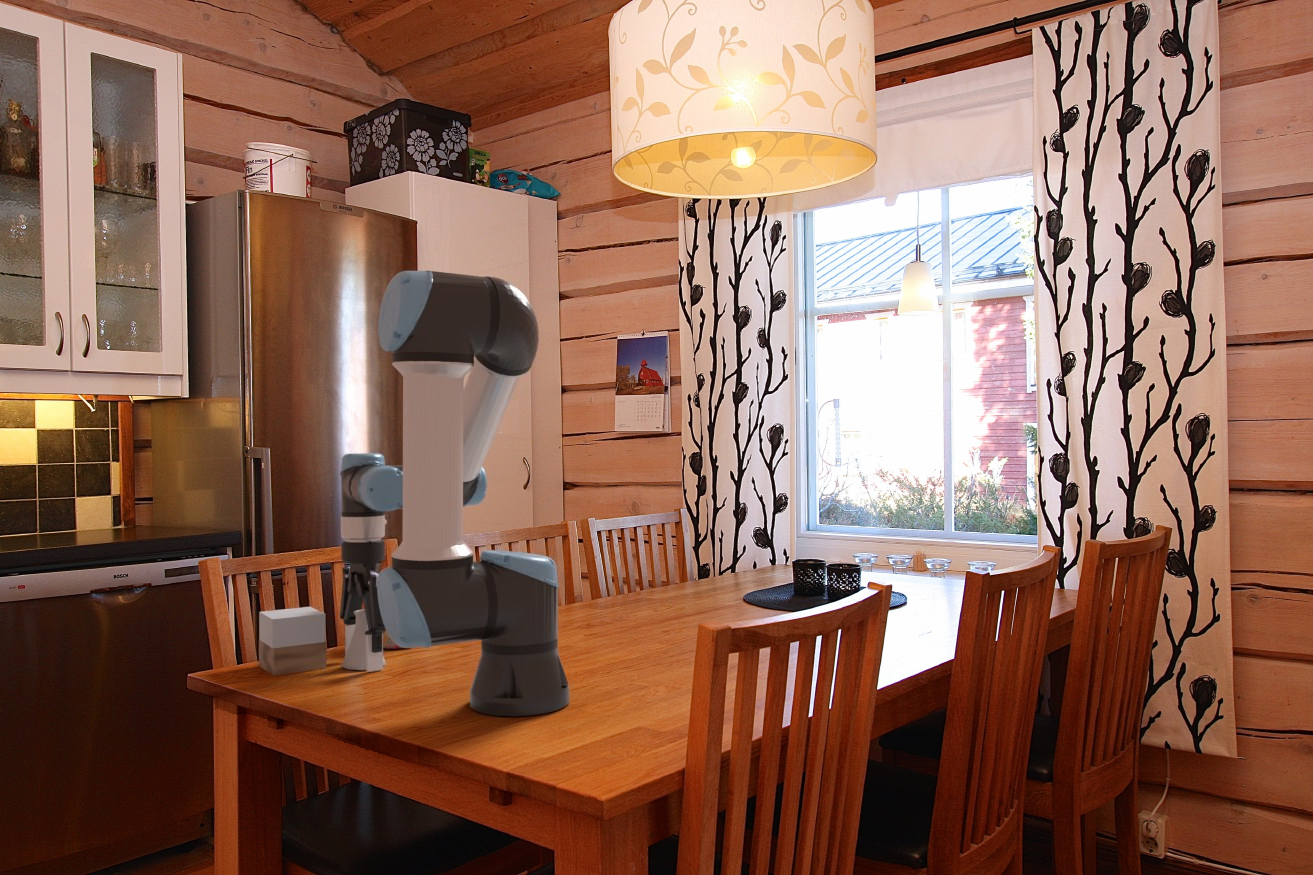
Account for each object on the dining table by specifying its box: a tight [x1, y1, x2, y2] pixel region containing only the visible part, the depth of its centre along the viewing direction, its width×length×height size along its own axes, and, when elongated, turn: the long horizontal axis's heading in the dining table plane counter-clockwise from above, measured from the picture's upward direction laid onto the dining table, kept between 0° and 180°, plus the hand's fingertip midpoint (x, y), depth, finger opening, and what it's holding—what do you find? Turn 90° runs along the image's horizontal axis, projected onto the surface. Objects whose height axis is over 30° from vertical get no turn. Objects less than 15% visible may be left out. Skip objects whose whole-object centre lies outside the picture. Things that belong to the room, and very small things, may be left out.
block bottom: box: [258, 639, 327, 676], centre depth 175 cm, size 9×9×5 cm
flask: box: [341, 608, 387, 671], centre depth 175 cm, size 7×7×10 cm
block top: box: [258, 606, 326, 648], centre depth 175 cm, size 9×9×5 cm
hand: (363, 665), depth 175 cm, fingers open, 9 cm apart
